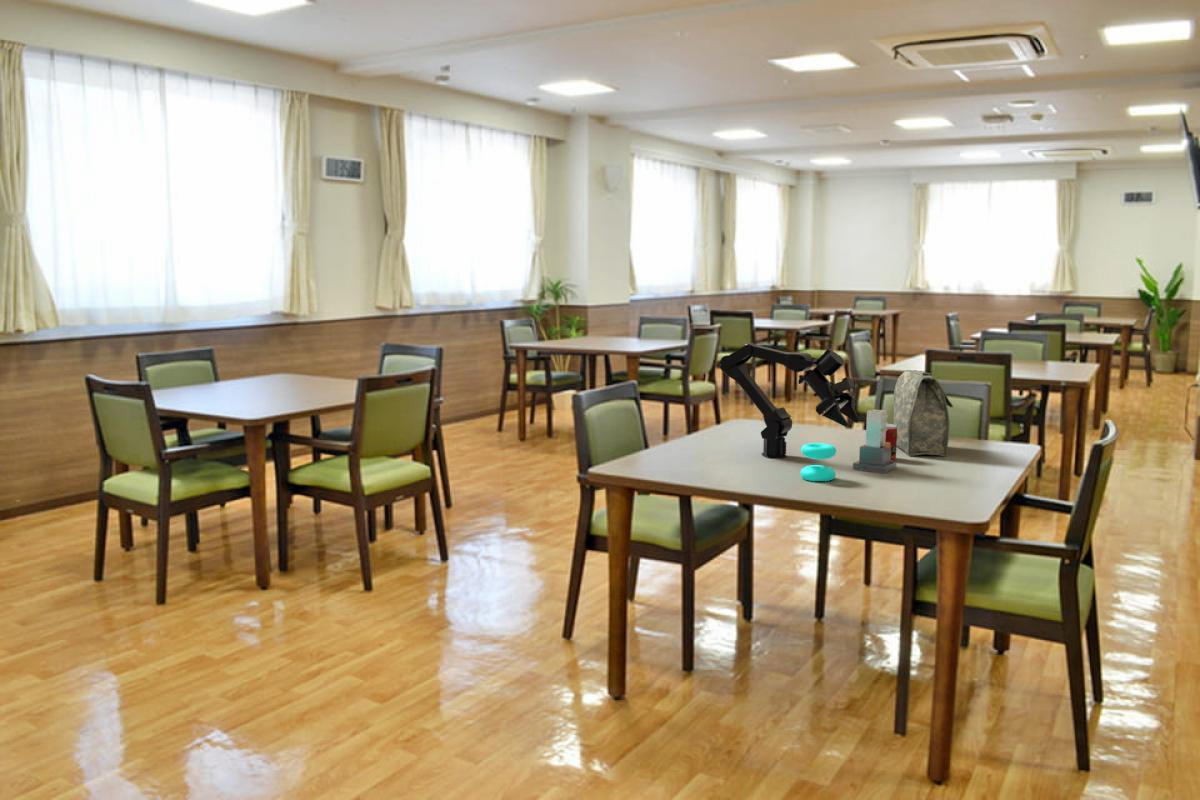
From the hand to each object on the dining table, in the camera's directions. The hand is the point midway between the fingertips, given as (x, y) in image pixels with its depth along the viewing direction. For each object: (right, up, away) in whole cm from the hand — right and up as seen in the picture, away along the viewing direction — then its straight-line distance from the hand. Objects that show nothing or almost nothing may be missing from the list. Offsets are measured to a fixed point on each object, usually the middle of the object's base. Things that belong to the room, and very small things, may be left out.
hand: (852, 423), depth 301 cm
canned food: (+13, -12, +13) cm, 22 cm away
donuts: (-15, -16, -17) cm, 27 cm away
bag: (+30, -10, +27) cm, 41 cm away
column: (+6, -8, -4) cm, 11 cm away
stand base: (+6, -14, -3) cm, 15 cm away
